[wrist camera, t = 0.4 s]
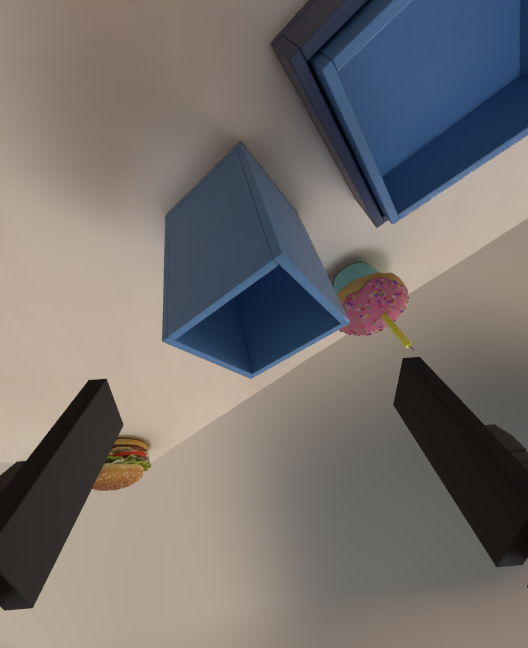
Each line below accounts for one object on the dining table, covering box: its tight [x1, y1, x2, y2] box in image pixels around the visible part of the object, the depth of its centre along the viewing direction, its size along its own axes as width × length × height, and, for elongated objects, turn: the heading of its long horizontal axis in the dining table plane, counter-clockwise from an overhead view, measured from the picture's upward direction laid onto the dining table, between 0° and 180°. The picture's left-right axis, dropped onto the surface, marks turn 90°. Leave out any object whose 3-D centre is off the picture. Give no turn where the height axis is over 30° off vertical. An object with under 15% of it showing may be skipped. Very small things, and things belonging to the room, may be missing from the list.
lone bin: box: [162, 142, 350, 379], centre depth 22 cm, size 8×8×13 cm
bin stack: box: [271, 0, 528, 228], centre depth 17 cm, size 14×14×6 cm
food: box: [92, 439, 151, 491], centre depth 59 cm, size 14×14×8 cm
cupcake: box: [333, 263, 416, 352], centre depth 31 cm, size 9×8×12 cm
